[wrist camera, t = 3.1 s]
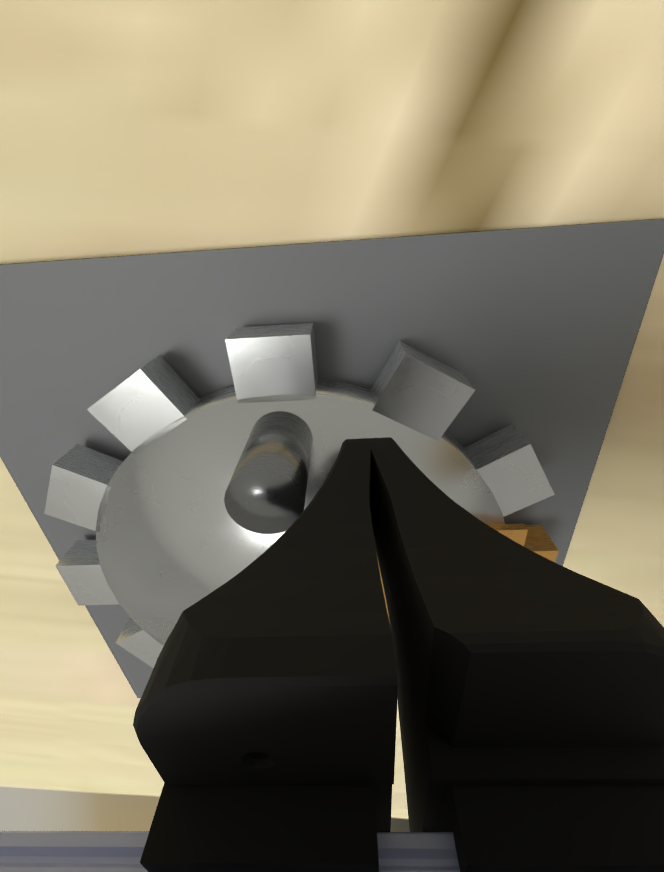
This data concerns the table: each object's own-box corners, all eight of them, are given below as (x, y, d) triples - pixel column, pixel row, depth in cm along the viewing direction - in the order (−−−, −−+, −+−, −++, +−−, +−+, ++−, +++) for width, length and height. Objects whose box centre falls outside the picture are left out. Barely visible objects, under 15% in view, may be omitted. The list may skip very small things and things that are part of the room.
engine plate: (518, 684, 21) (521, 692, 20) (141, 690, 22) (137, 698, 21) (663, 218, 10) (675, 218, 10) (-91, 270, 11) (-105, 272, 11)
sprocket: (500, 677, 19) (539, 788, 15) (151, 682, 20) (107, 788, 16) (599, 305, 10) (744, 351, 7) (-26, 342, 11) (-208, 402, 8)
